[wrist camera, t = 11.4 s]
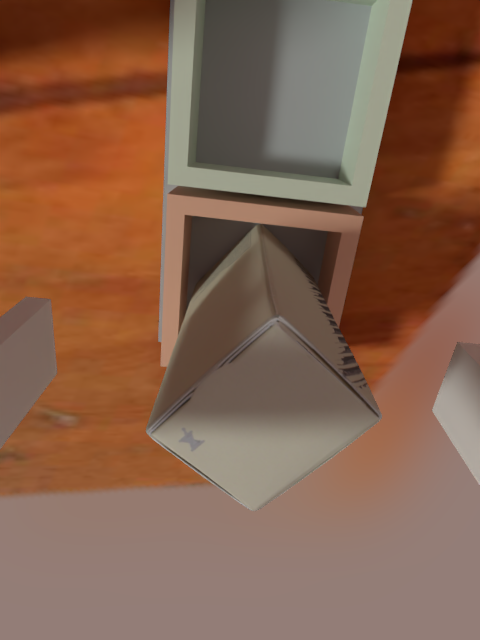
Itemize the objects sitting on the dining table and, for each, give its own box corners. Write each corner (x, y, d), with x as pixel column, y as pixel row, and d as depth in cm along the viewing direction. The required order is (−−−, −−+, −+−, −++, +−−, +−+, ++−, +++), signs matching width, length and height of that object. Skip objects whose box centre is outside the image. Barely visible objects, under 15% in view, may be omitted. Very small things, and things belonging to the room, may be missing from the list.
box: (249, 335, 24) (248, 526, 13) (192, 283, 23) (132, 440, 11) (319, 272, 23) (393, 424, 11) (262, 213, 22) (276, 313, 10)
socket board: (175, -41, 18) (157, -84, 15) (405, -12, 19) (443, -47, 15) (161, 334, 26) (146, 368, 22) (326, 351, 26) (338, 388, 22)
